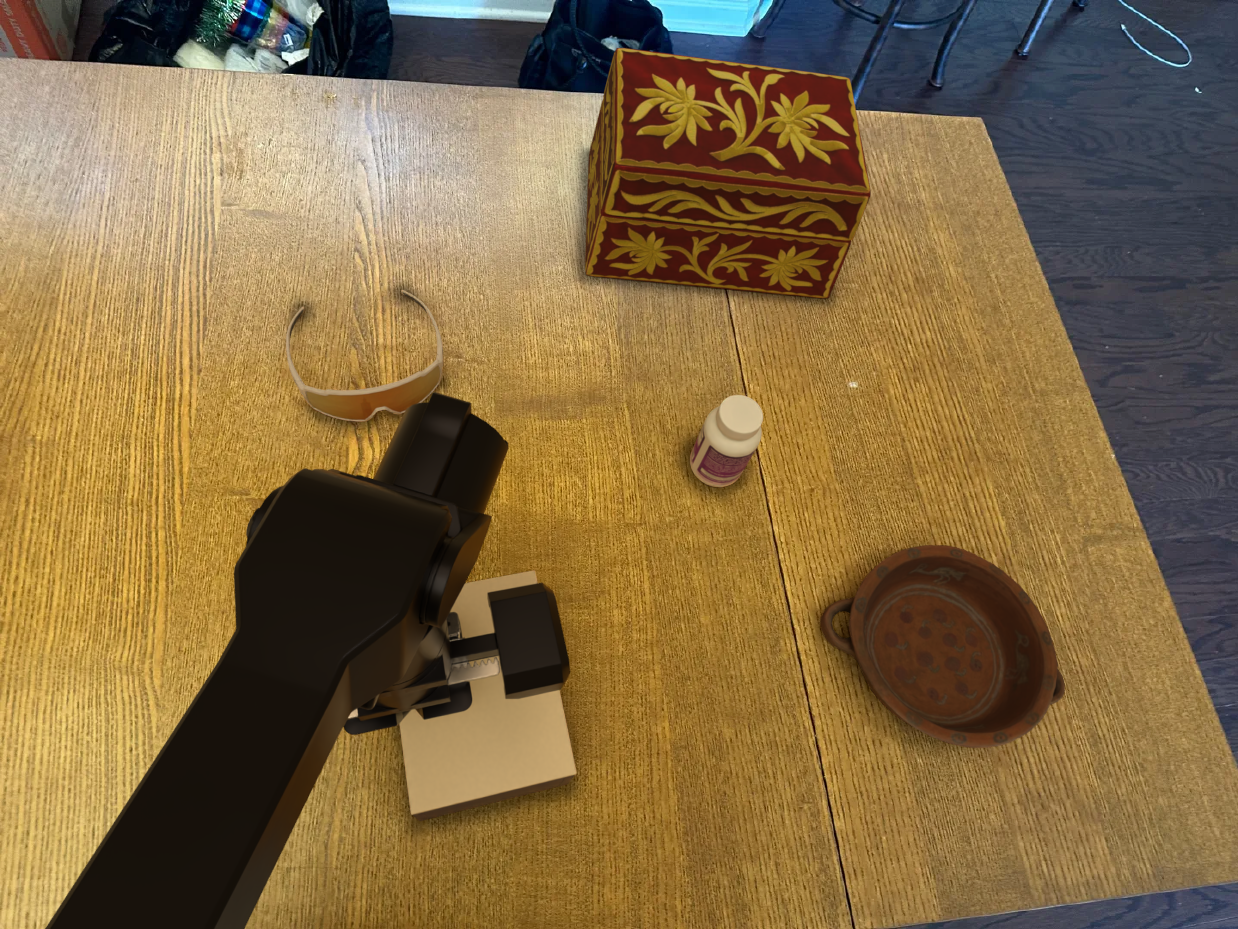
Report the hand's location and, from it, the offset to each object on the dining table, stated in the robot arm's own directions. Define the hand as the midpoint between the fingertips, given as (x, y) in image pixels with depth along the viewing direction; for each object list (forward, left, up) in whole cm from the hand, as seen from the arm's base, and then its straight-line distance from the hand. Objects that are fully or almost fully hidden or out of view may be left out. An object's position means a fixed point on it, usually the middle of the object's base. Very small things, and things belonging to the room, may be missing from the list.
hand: (413, 697), depth 54 cm
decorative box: (+49, -38, -12) cm, 63 cm away
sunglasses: (+36, +1, -12) cm, 38 cm away
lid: (+1, -4, -6) cm, 7 cm away
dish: (-3, -44, -12) cm, 46 cm away
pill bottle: (+19, -30, -12) cm, 38 cm away
